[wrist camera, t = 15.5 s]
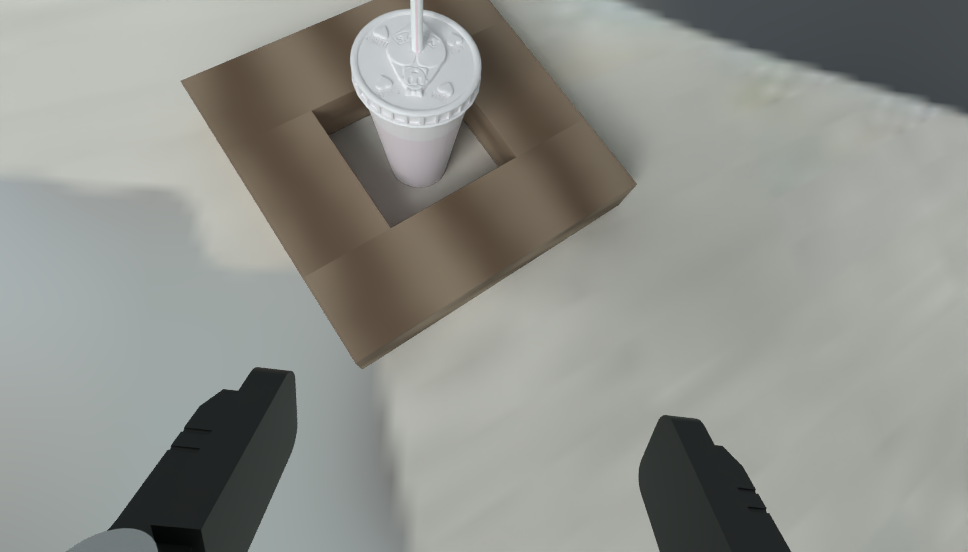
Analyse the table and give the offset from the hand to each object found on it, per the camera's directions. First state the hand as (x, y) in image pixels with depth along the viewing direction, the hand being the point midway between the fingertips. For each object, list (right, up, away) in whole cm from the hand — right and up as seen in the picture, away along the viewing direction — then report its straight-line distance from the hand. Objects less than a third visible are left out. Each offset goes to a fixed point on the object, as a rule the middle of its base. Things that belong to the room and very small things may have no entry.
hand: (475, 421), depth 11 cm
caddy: (-4, +11, +22) cm, 25 cm away
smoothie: (-4, +11, +22) cm, 25 cm away
